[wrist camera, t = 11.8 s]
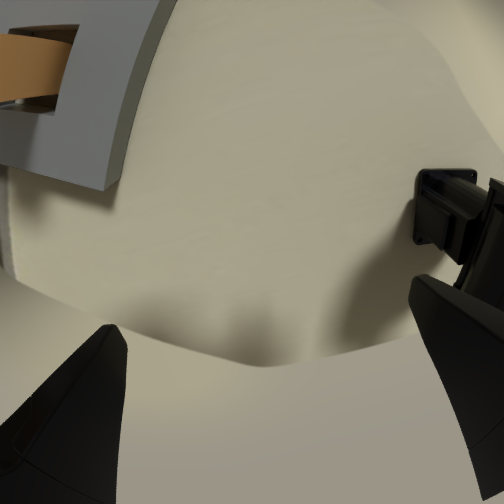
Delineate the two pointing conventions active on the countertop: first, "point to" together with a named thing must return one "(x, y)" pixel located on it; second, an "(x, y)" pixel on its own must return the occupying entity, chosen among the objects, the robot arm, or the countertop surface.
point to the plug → (31, 66)
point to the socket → (83, 87)
